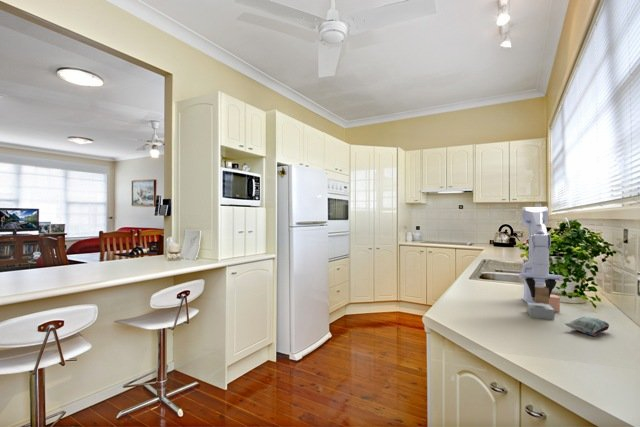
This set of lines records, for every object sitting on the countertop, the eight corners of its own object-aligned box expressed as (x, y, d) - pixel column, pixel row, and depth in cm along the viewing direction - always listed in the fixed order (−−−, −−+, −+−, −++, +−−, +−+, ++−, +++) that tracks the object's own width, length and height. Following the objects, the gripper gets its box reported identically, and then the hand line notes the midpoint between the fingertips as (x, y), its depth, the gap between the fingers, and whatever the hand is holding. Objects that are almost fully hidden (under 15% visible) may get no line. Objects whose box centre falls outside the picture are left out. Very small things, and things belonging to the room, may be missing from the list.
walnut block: (532, 299, 134) (532, 285, 134) (544, 300, 132) (544, 286, 132) (535, 302, 129) (535, 287, 129) (548, 303, 128) (548, 288, 128)
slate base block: (526, 312, 136) (526, 302, 136) (549, 314, 133) (549, 304, 133) (530, 317, 129) (530, 307, 129) (554, 320, 126) (554, 310, 126)
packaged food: (565, 331, 114) (565, 317, 114) (580, 325, 120) (580, 312, 120) (595, 339, 106) (596, 324, 106) (610, 333, 112) (611, 319, 112)
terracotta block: (543, 308, 141) (543, 294, 141) (555, 309, 140) (555, 295, 140) (547, 311, 137) (547, 296, 137) (559, 312, 135) (559, 297, 135)
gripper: (522, 264, 129) (522, 298, 129) (565, 266, 125) (565, 301, 125) (517, 261, 136) (517, 294, 136) (558, 263, 132) (558, 297, 132)
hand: (540, 297), depth 131 cm, fingers closed on walnut block, 4 cm apart
